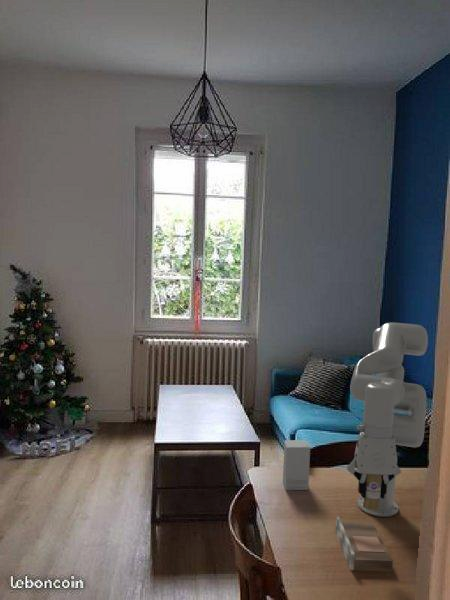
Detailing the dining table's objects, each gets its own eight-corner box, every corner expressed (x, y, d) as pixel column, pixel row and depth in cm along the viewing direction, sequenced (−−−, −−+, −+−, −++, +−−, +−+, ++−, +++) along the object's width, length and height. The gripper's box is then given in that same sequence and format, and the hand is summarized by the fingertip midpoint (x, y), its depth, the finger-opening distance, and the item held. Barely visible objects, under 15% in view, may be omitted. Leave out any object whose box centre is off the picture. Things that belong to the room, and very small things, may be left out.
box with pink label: (335, 531, 151) (336, 516, 151) (372, 532, 151) (373, 518, 151) (350, 570, 133) (351, 553, 133) (391, 571, 134) (393, 555, 133)
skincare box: (305, 482, 182) (307, 439, 180) (308, 491, 175) (311, 447, 173) (281, 481, 181) (284, 439, 179) (284, 490, 175) (286, 446, 173)
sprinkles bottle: (365, 511, 136) (369, 462, 135) (359, 502, 141) (363, 455, 139) (382, 511, 137) (386, 462, 135) (375, 502, 141) (379, 455, 140)
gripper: (348, 434, 133) (343, 501, 135) (414, 436, 133) (408, 504, 135) (341, 423, 140) (337, 487, 142) (403, 426, 140) (398, 490, 142)
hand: (371, 495), depth 138 cm, fingers closed on sprinkles bottle, 4 cm apart
